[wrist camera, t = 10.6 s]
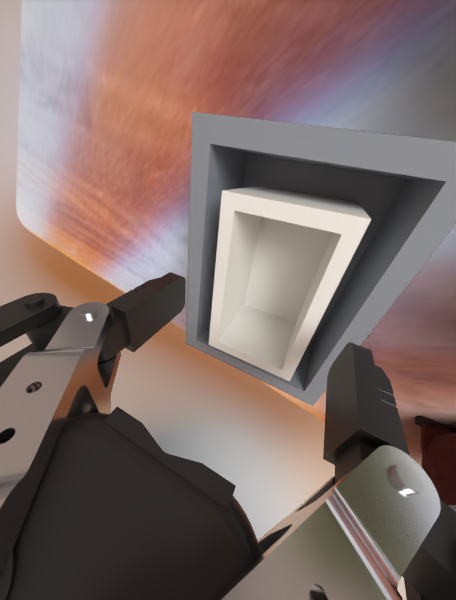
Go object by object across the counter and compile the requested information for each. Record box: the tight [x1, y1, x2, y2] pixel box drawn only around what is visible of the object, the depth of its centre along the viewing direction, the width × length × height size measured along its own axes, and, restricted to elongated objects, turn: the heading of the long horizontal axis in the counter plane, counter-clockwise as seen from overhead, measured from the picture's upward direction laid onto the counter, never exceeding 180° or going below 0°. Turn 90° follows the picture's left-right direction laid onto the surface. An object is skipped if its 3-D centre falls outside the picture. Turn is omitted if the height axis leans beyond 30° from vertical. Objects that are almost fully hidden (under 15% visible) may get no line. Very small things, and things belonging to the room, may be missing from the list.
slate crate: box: [186, 112, 456, 406], centre depth 14 cm, size 11×15×6 cm
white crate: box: [209, 186, 371, 381], centre depth 13 cm, size 6×10×6 cm, turn 173°
